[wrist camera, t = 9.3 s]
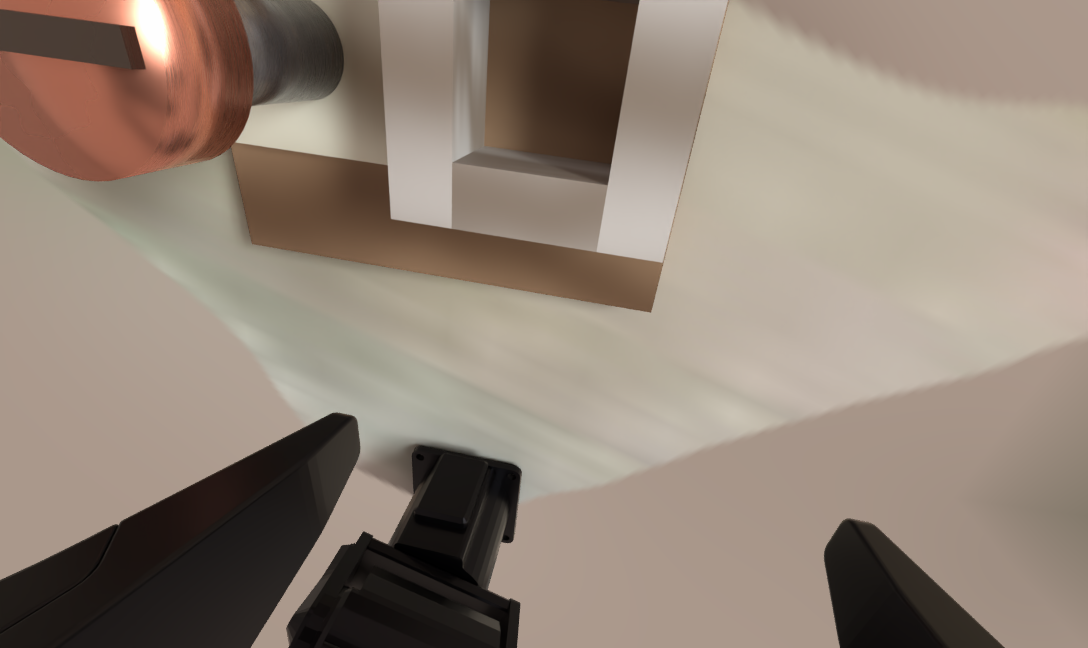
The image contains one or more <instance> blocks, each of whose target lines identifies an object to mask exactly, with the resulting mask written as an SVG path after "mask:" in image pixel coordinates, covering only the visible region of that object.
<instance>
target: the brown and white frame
mask: <svg viewBox="0 0 1088 648" xmlns="http://www.w3.org/2000/svg"><path fill="white" fill-rule="evenodd" d="M311 1H312V2H314V3H315V4H317V5H318V6H319V7H320V8H321V9H322V10H323V11H324V12H325V13H326V14H327V15H328V17H329V18H330V20H331V21H332V23H333V24H334V26H335V28H336V30H337V32H338V34H339V37H340V40H341V43H342V48H343V54H344V68H343V74H342V77H341V80H340V82H339V84H338V86H337V87H336V89H335V90H334V91H333V92H332V93H331V94H330V95H328V96H327V97H325V98H323V99H320V100H313V101H302V102H291V103H280V104H269V105H258V106H251V110H250V114H249V118H248V120H247V123H246V125H245V127H244V130H243V131H242V133H241V135H240V136H239V138H238V139H237V141H236V142H235V143H234V144H233V145H232V146H231V149H232V153H233V158H234V163H235V167H236V172H237V176H238V181H239V186H240V190H241V195H242V200H243V204H244V209H245V214H246V218H247V223H248V227H249V232H250V237H251V241H252V244H256V245H262V246H267V247H273V248H279V249H285V250H291V251H297V252H302V253H308V254H314V255H320V256H326V257H331V258H337V259H343V260H349V261H355V262H360V263H366V264H372V265H378V266H384V267H390V268H395V269H401V270H407V271H413V272H419V273H424V274H430V275H436V276H442V277H448V278H454V279H459V280H465V281H471V282H477V283H483V284H488V285H494V286H500V287H506V288H512V289H517V290H523V291H529V292H535V293H541V294H547V295H552V296H558V297H564V298H570V299H576V300H581V301H587V302H593V303H599V304H605V305H611V306H616V307H622V308H628V309H634V310H640V311H645V312H651V310H652V306H653V302H654V298H655V294H656V290H657V286H658V282H659V278H660V274H661V270H662V266H663V262H664V258H665V254H666V250H667V246H668V242H669V238H670V234H671V230H672V226H673V222H674V218H675V215H676V211H677V207H678V203H679V199H680V195H681V191H682V187H683V183H684V179H685V175H686V171H687V167H688V163H689V159H690V155H691V151H692V147H693V143H694V139H695V135H696V131H697V127H698V123H699V119H700V115H701V111H702V107H703V103H704V99H705V95H706V91H707V87H708V83H709V79H710V75H711V71H712V67H713V63H714V59H715V55H716V51H717V47H718V43H719V39H720V35H721V31H722V27H723V23H724V19H725V15H726V11H727V7H728V3H729V0H311Z"/></svg>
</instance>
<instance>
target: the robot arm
mask: <svg viewBox="0 0 1088 648" xmlns="http://www.w3.org/2000/svg"><path fill="white" fill-rule="evenodd" d="M359 454H360V439H359V431H358V423H357V419H356V418H355V417H354V416H352V415H347V414H342V413H332V414H329V415H328V416H326V417H324V418H322V419H320V420H318V421H316V422H314V423H312V424H310V425H308V426H306V427H304V428H302V429H300V430H298V431H296V432H294V433H292V434H291V435H288V436H287V437H285V438H283V439H281V440H279V441H277V442H275V443H273V444H271V445H269V446H267V447H265V448H263V449H261V450H259V451H257V452H255V453H253V454H251V455H249V456H247V457H245V458H243V459H242V460H240V461H238V462H236V463H234V464H232V465H230V466H228V467H226V468H224V469H222V470H220V471H218V472H216V473H214V474H212V475H210V476H208V477H206V478H205V479H202V480H201V481H199V482H197V483H195V484H193V485H191V486H189V487H187V488H185V489H183V490H181V491H179V492H177V493H175V494H173V495H172V496H169V497H167V498H165V499H163V500H161V501H160V502H158V503H156V504H154V505H152V506H150V507H148V508H146V509H144V510H142V511H140V512H138V513H136V514H134V515H132V516H130V517H128V518H126V519H124V520H123V521H121V522H120V524H119V525H117V524H115V525H112V526H110V527H108V528H106V529H104V530H102V531H101V532H99V533H97V534H95V535H93V536H91V537H89V538H87V539H85V540H83V541H81V542H79V543H77V544H75V545H73V546H71V547H69V548H67V549H65V550H63V551H61V552H59V553H57V554H54V555H53V556H50V557H49V558H46V559H44V560H42V561H40V562H38V563H36V564H34V565H32V566H30V567H28V568H25V569H23V570H21V571H19V572H17V573H14V574H12V575H10V576H8V577H6V578H4V579H2V580H0V648H251V646H252V644H253V643H254V641H255V639H256V638H257V636H258V635H259V633H260V632H261V630H262V628H263V627H264V624H265V623H266V622H267V620H268V619H269V617H270V615H271V614H272V612H273V611H274V609H275V607H276V606H277V604H278V602H279V601H280V599H281V598H282V596H283V595H284V593H285V591H286V590H287V588H288V586H289V585H290V583H291V582H292V580H293V578H294V577H295V575H296V574H297V572H298V570H299V569H300V567H301V566H302V564H303V562H304V561H305V559H306V557H307V556H308V554H309V553H310V551H311V550H312V548H313V546H314V545H315V543H316V541H317V540H318V538H319V536H320V535H321V533H322V531H323V529H324V527H325V525H326V523H327V521H328V519H329V517H330V515H331V513H332V511H333V509H334V507H335V505H336V503H337V501H338V499H339V497H340V495H341V493H342V490H343V489H344V487H345V485H346V482H347V480H348V478H349V476H350V474H351V472H352V470H353V468H354V466H355V464H356V462H357V460H358V457H359ZM412 467H413V488H414V495H413V497H412V499H411V501H410V503H409V505H408V507H407V509H406V511H405V513H404V515H403V516H402V519H401V520H400V522H399V524H398V527H397V528H396V530H395V532H394V534H393V536H392V538H391V540H390V541H389V543H388V544H385V543H383V542H381V541H379V540H377V539H374V538H373V535H370V534H368V533H366V532H363V533H362V534H361V536H360V537H359V539H358V541H357V542H356V544H355V543H354V544H351V545H342V546H341V548H340V549H339V551H338V553H337V554H336V556H335V557H334V559H333V561H332V562H331V564H330V566H329V567H328V569H327V570H326V572H325V573H324V575H323V576H322V578H321V579H320V581H319V582H318V583H317V585H316V586H315V587H314V589H313V590H312V591H311V593H310V594H309V595H308V597H307V598H306V599H305V600H304V602H303V603H302V604H301V606H300V607H299V608H298V610H297V611H296V612H295V614H294V615H293V617H292V618H291V620H290V622H289V624H288V626H287V628H286V630H287V636H288V641H289V648H517V638H518V627H519V613H520V602H517V601H515V600H513V599H509V600H508V599H506V598H504V597H502V596H499V595H497V594H495V593H493V592H490V591H489V590H488V586H489V583H490V579H491V576H492V572H493V569H494V565H495V562H496V558H497V555H498V551H499V547H500V544H501V542H504V543H511V542H512V541H513V539H514V534H515V527H516V518H517V510H518V502H519V493H520V484H521V476H522V471H521V469H520V468H519V467H517V466H514V465H510V464H505V463H500V462H496V461H491V460H486V459H481V458H476V457H472V456H467V455H462V454H457V453H453V452H448V451H443V450H438V449H433V448H429V447H424V446H418V447H416V448H415V450H414V452H413V453H412ZM513 474H514V475H513ZM824 562H825V568H826V573H827V579H828V584H829V590H830V596H831V601H832V607H833V613H834V618H835V623H836V629H837V635H838V640H839V645H840V648H1004V647H1003V646H1002V645H1001V644H1000V643H999V642H998V641H997V640H996V639H995V638H994V637H993V636H992V635H991V634H990V633H989V632H988V631H986V630H985V629H984V628H983V627H982V626H981V625H980V624H979V623H978V622H977V621H976V620H975V619H974V618H972V616H971V615H970V614H969V613H967V612H966V611H965V610H964V609H963V608H962V607H961V606H960V605H959V604H958V603H957V602H956V601H955V600H954V599H953V598H952V597H951V596H949V595H948V594H947V593H946V592H945V591H944V590H943V589H942V588H941V587H940V586H939V585H938V584H937V583H936V582H934V580H933V579H931V578H930V577H929V576H928V575H927V574H926V573H925V572H924V571H923V570H922V569H921V568H920V567H919V566H918V565H917V564H915V563H914V562H913V561H912V560H911V559H910V558H909V557H908V556H907V555H906V554H905V553H904V552H903V551H902V550H901V549H900V548H899V547H898V546H897V545H895V544H894V543H893V542H892V541H891V540H890V539H889V538H888V537H887V536H886V535H885V534H884V533H883V532H882V531H881V530H880V529H879V528H877V527H876V526H875V525H873V524H871V523H869V522H865V521H860V520H855V519H845V520H843V521H842V523H841V524H840V525H839V527H838V528H837V530H836V531H835V533H834V535H833V536H832V538H831V539H830V541H829V542H828V544H827V546H826V548H825V551H824Z"/></svg>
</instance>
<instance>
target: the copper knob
mask: <svg viewBox="0 0 1088 648" xmlns="http://www.w3.org/2000/svg"><path fill="white" fill-rule="evenodd" d="M343 68H344V54H343V48H342V43H341V40H340V37H339V34H338V32H337V30H336V28H335V26H334V24H333V23H332V21H331V20H330V18H329V17H328V15H327V14H326V13H325V12H324V11H323V10H322V9H321V8H320V7H319V6H318V5H317V4H315V3H314V2H312V1H311V0H0V137H1V138H2V139H3V140H5V141H6V142H7V143H8V144H10V145H11V146H13V147H14V148H15V149H17V150H18V151H19V152H21V153H22V154H24V155H26V156H27V157H29V158H30V159H32V160H34V161H35V162H37V163H39V164H41V165H43V166H45V167H47V168H49V169H51V170H53V171H56V172H58V173H61V174H64V175H67V176H69V177H73V178H78V179H82V180H89V181H112V180H116V179H121V178H126V177H131V176H135V175H140V174H145V173H150V172H155V171H159V170H164V169H169V168H174V167H179V166H183V165H188V164H193V163H198V162H202V161H206V160H210V159H212V158H215V157H217V156H219V155H221V154H222V153H224V152H225V151H226V150H228V149H229V148H230V147H231V146H232V145H233V144H234V143H235V142H236V141H237V139H238V138H239V136H240V135H241V133H242V131H243V130H244V127H245V125H246V123H247V120H248V118H249V114H250V110H251V106H258V105H269V104H280V103H291V102H302V101H313V100H320V99H323V98H325V97H327V96H328V95H330V94H331V93H332V92H333V91H334V90H335V89H336V87H337V86H338V84H339V82H340V80H341V77H342V74H343Z"/></svg>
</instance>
